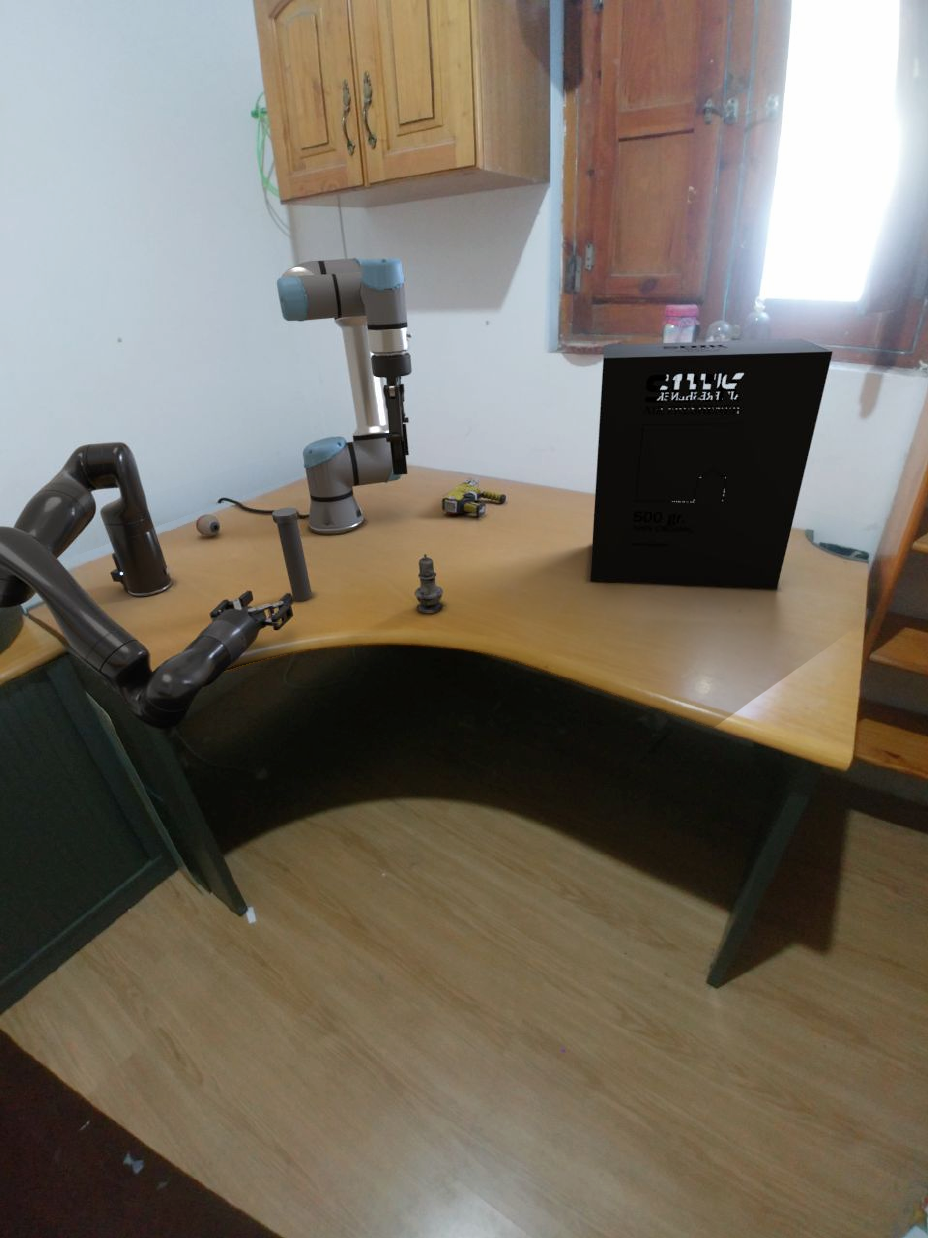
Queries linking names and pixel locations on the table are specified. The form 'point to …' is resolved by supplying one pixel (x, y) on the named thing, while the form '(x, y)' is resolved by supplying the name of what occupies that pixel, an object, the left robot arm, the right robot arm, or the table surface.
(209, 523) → the eyeball
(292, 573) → the dark grey cylinder
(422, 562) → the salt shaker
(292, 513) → the lid
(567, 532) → the table surface
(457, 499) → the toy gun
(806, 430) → the cardboard box
